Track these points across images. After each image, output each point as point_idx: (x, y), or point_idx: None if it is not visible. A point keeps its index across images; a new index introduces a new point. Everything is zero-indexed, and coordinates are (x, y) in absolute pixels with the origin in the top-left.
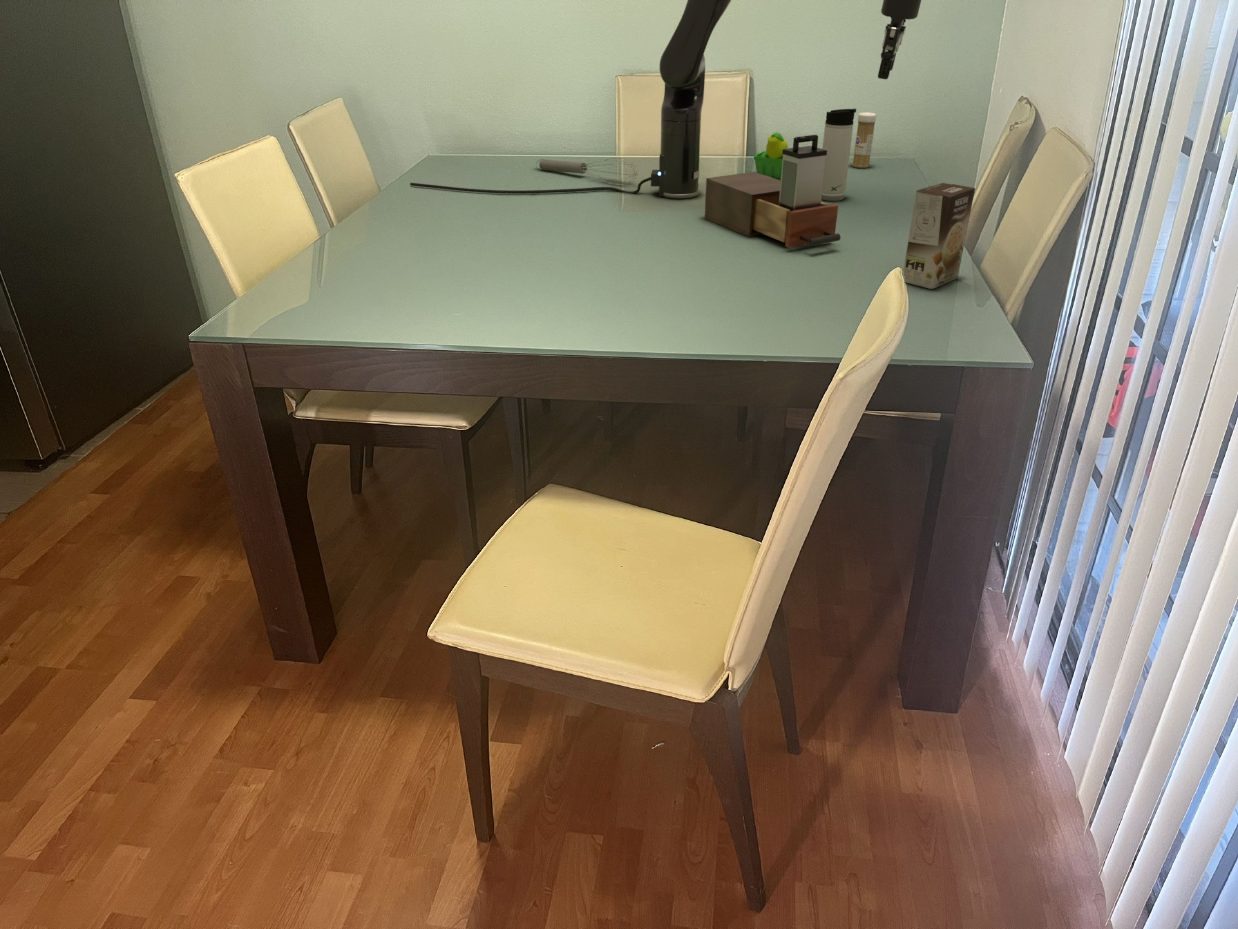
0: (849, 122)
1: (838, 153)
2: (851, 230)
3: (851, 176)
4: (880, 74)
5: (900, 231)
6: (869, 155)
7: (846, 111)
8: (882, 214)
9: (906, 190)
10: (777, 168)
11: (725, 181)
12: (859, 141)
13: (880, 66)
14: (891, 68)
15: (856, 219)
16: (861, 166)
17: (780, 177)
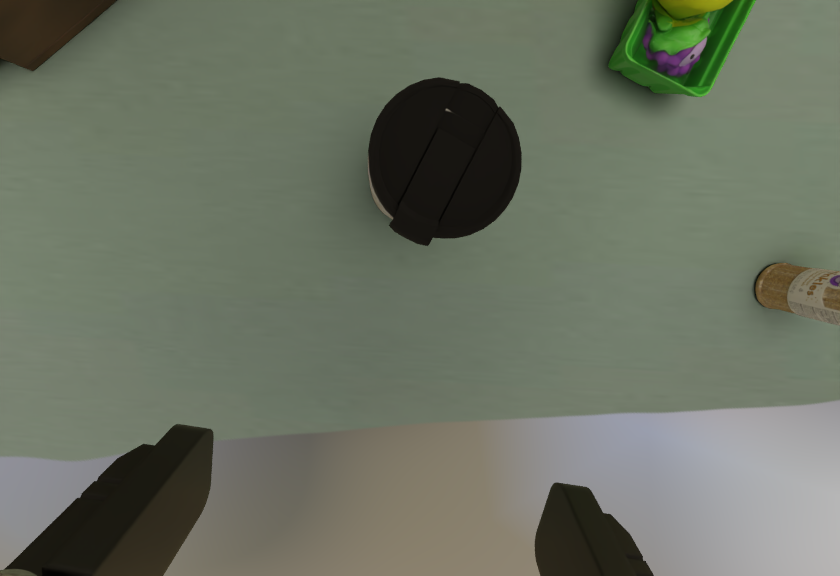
0: (388, 212)
1: (369, 181)
2: (65, 224)
3: (661, 254)
4: (125, 458)
5: (93, 347)
6: (791, 311)
7: (469, 195)
8: (255, 313)
9: (517, 386)
10: (638, 11)
11: None
12: (834, 285)
13: (106, 498)
14: (537, 559)
15: (186, 243)
16: (757, 286)
17: (622, 36)
